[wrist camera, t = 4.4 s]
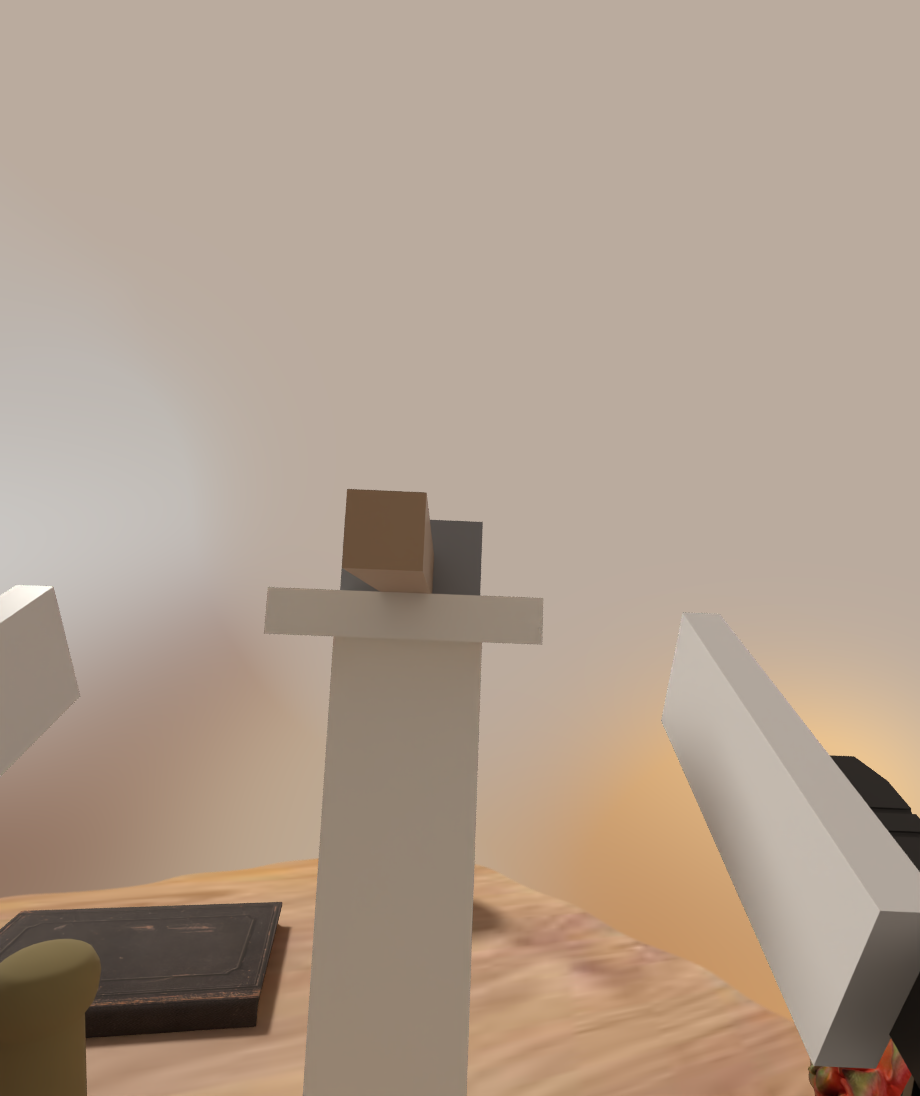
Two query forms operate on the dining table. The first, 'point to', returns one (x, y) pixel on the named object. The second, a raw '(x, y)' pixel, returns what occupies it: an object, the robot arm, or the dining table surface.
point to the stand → (397, 832)
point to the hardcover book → (163, 962)
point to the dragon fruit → (863, 1077)
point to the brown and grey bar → (407, 546)
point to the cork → (46, 1018)
